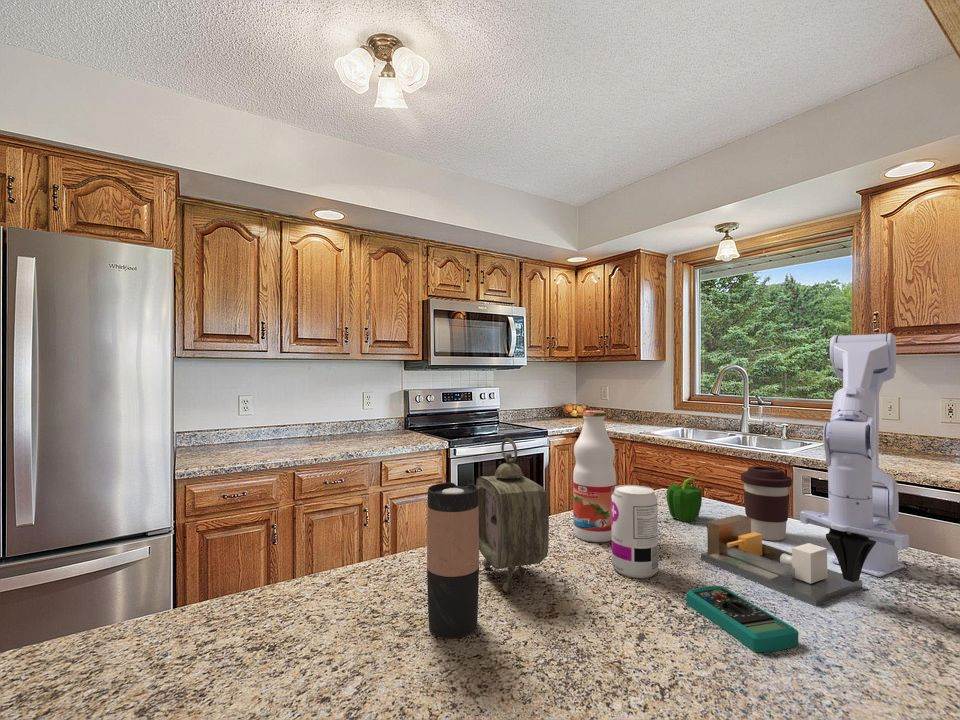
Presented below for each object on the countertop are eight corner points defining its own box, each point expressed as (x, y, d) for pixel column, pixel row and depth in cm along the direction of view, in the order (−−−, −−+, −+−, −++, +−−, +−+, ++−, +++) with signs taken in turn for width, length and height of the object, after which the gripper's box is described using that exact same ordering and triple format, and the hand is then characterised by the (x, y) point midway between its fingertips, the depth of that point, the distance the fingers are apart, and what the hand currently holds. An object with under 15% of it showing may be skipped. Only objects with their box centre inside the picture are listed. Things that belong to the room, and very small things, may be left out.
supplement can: (609, 575, 88) (608, 492, 89) (614, 559, 96) (614, 482, 96) (657, 582, 85) (656, 496, 86) (658, 565, 93) (658, 486, 93)
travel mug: (439, 645, 66) (439, 497, 66) (419, 619, 73) (419, 485, 73) (488, 631, 70) (488, 490, 70) (465, 608, 76) (465, 480, 77)
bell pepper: (670, 523, 118) (670, 482, 118) (663, 513, 126) (663, 474, 126) (707, 525, 117) (707, 483, 117) (697, 515, 125) (697, 475, 125)
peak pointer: (762, 555, 94) (762, 534, 94) (732, 563, 90) (731, 542, 90) (754, 552, 96) (754, 532, 96) (724, 561, 91) (724, 539, 91)
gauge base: (862, 587, 83) (861, 545, 83) (816, 606, 77) (815, 560, 77) (746, 547, 102) (745, 513, 102) (700, 560, 95) (700, 523, 96)
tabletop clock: (475, 565, 93) (474, 434, 93) (518, 559, 96) (518, 432, 96) (501, 599, 79) (501, 445, 80) (552, 591, 82) (551, 442, 83)
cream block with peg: (827, 577, 84) (827, 548, 84) (810, 583, 82) (810, 553, 82) (791, 565, 89) (791, 537, 89) (775, 570, 87) (774, 542, 87)
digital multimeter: (721, 599, 80) (721, 581, 80) (801, 649, 66) (801, 627, 66) (682, 605, 78) (682, 587, 78) (757, 658, 64) (756, 635, 64)
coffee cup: (803, 543, 104) (802, 473, 104) (756, 543, 104) (755, 473, 105) (775, 528, 114) (774, 464, 114) (733, 528, 114) (732, 464, 114)
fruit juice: (625, 537, 108) (624, 411, 109) (597, 546, 103) (596, 413, 103) (592, 526, 116) (591, 408, 116) (564, 534, 110) (564, 410, 111)
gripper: (789, 488, 83) (790, 567, 83) (891, 509, 71) (893, 604, 70) (813, 483, 87) (814, 560, 86) (915, 503, 74) (916, 593, 74)
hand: (851, 579), depth 79 cm, fingers closed
